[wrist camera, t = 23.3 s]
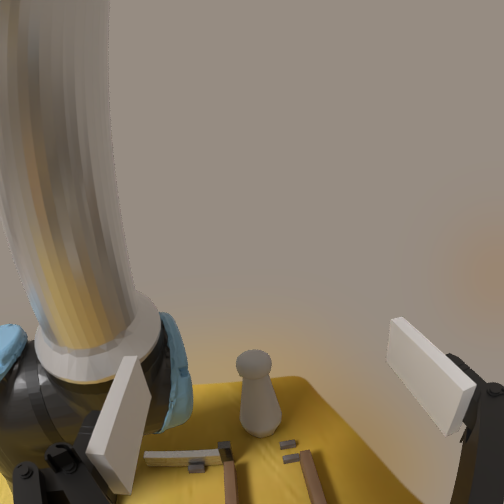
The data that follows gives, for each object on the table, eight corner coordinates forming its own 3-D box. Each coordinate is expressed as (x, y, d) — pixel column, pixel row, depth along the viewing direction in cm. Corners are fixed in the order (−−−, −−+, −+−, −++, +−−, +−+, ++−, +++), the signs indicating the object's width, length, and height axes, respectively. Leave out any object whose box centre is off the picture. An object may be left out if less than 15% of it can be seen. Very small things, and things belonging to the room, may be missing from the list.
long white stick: (148, 466, 33) (140, 450, 32) (149, 459, 34) (141, 444, 34) (234, 463, 34) (230, 447, 33) (233, 456, 35) (229, 440, 34)
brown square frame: (185, 553, 21) (179, 546, 20) (190, 454, 36) (186, 443, 35) (333, 537, 21) (335, 529, 21) (303, 441, 37) (303, 429, 36)
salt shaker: (245, 414, 44) (233, 343, 40) (283, 414, 43) (278, 342, 39) (238, 441, 38) (224, 369, 35) (280, 442, 37) (274, 369, 34)
